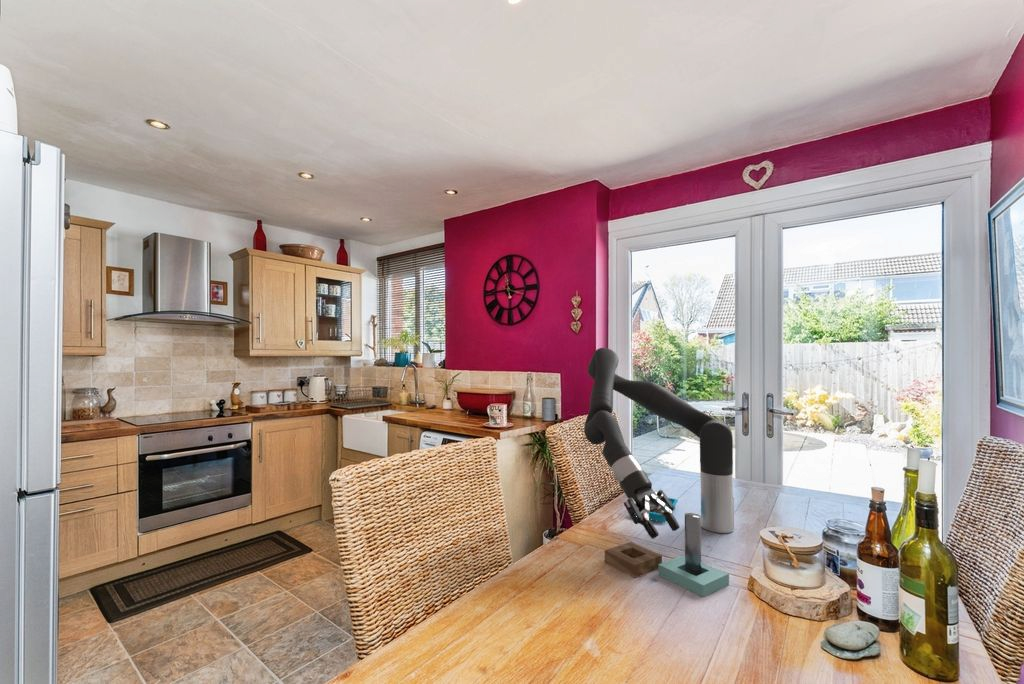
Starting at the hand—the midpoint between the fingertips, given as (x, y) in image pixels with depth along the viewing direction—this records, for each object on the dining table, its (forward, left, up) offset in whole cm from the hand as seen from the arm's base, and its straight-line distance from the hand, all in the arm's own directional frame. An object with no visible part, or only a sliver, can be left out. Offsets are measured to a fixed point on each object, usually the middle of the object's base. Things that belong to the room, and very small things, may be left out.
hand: (666, 533), depth 112 cm
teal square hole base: (0, +7, -9) cm, 11 cm away
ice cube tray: (-32, -29, -9) cm, 44 cm away
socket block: (+6, -6, -9) cm, 12 cm away
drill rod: (0, +7, -9) cm, 11 cm away
